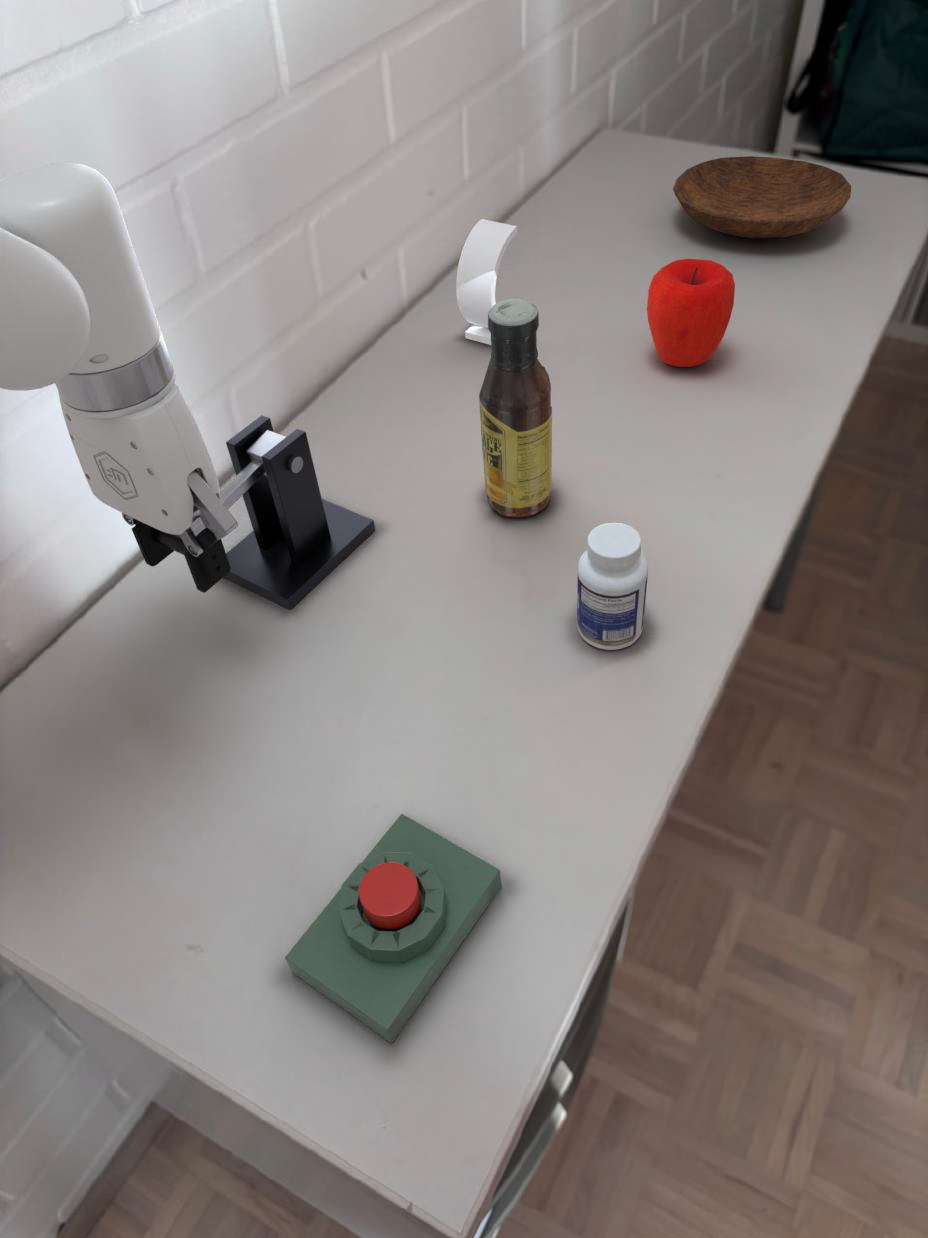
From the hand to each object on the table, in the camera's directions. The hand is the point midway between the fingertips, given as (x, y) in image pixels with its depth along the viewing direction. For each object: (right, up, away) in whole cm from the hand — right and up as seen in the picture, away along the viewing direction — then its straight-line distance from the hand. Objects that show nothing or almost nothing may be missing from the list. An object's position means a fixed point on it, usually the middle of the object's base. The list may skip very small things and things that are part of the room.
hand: (188, 566), depth 76 cm
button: (+18, -22, -17) cm, 33 cm away
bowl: (+60, +47, +49) cm, 91 cm away
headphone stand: (+25, +29, +35) cm, 52 cm away
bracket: (+7, +2, +11) cm, 13 cm away
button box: (+18, -24, -15) cm, 33 cm away
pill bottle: (+34, -5, +2) cm, 34 cm away
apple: (+46, +24, +28) cm, 59 cm away
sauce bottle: (+27, +7, +14) cm, 31 cm away
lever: (+3, +5, +2) cm, 6 cm away
